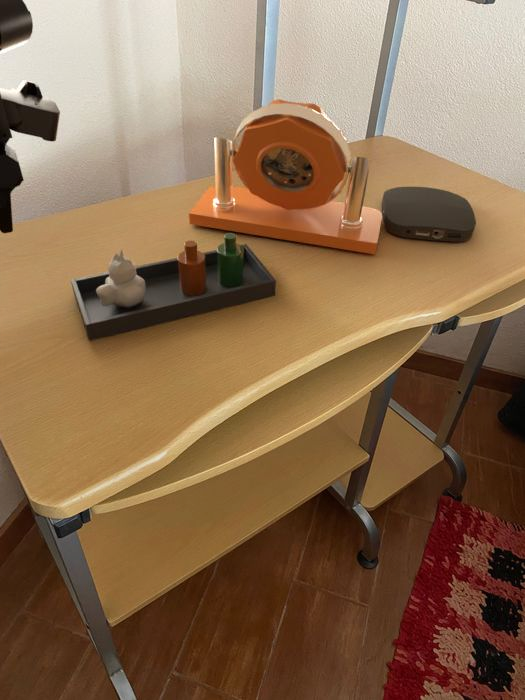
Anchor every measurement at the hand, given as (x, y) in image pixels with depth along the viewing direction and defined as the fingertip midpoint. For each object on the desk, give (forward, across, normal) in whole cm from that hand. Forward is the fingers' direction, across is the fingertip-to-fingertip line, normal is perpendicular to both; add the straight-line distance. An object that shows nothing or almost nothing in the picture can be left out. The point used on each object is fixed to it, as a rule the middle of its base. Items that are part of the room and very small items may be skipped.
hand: (4, 213), depth 62 cm
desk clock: (+12, +5, -41) cm, 43 cm away
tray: (+12, -7, -18) cm, 23 cm away
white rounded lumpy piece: (+12, -7, -11) cm, 17 cm away
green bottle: (+12, -7, -26) cm, 29 cm away
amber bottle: (+12, -7, -20) cm, 25 cm away
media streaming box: (+12, -2, -64) cm, 65 cm away
